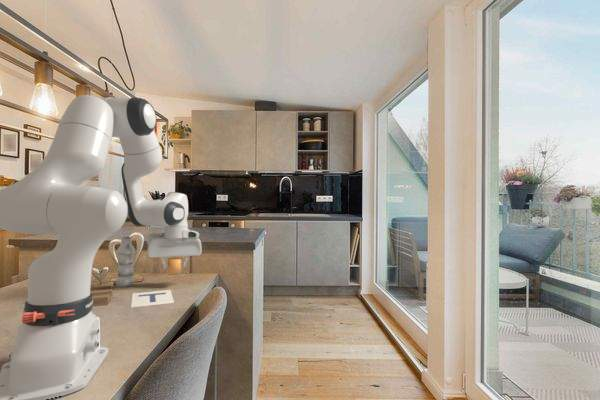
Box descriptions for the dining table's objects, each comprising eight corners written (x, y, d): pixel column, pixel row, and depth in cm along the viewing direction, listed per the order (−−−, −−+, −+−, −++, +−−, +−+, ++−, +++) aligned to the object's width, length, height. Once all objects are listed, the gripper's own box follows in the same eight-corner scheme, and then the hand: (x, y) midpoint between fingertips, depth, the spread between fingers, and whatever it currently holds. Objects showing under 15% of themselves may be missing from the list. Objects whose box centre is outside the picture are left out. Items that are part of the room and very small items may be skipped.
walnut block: (107, 309, 102) (107, 297, 102) (78, 311, 99) (78, 299, 99) (112, 300, 111) (113, 289, 111) (86, 302, 108) (86, 291, 108)
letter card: (174, 305, 107) (174, 302, 107) (130, 310, 101) (130, 307, 101) (170, 292, 121) (170, 289, 121) (132, 296, 115) (132, 293, 115)
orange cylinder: (181, 274, 124) (182, 259, 124) (167, 275, 121) (168, 260, 121) (180, 272, 128) (180, 257, 128) (167, 272, 126) (167, 257, 126)
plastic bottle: (126, 290, 122) (128, 239, 122) (111, 288, 123) (113, 238, 123) (138, 286, 128) (139, 237, 128) (123, 284, 129) (125, 236, 129)
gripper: (146, 234, 118) (145, 271, 117) (203, 233, 127) (201, 267, 126) (146, 232, 123) (145, 267, 123) (200, 232, 132) (199, 264, 132)
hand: (174, 267), depth 125 cm, fingers closed on orange cylinder, 5 cm apart
